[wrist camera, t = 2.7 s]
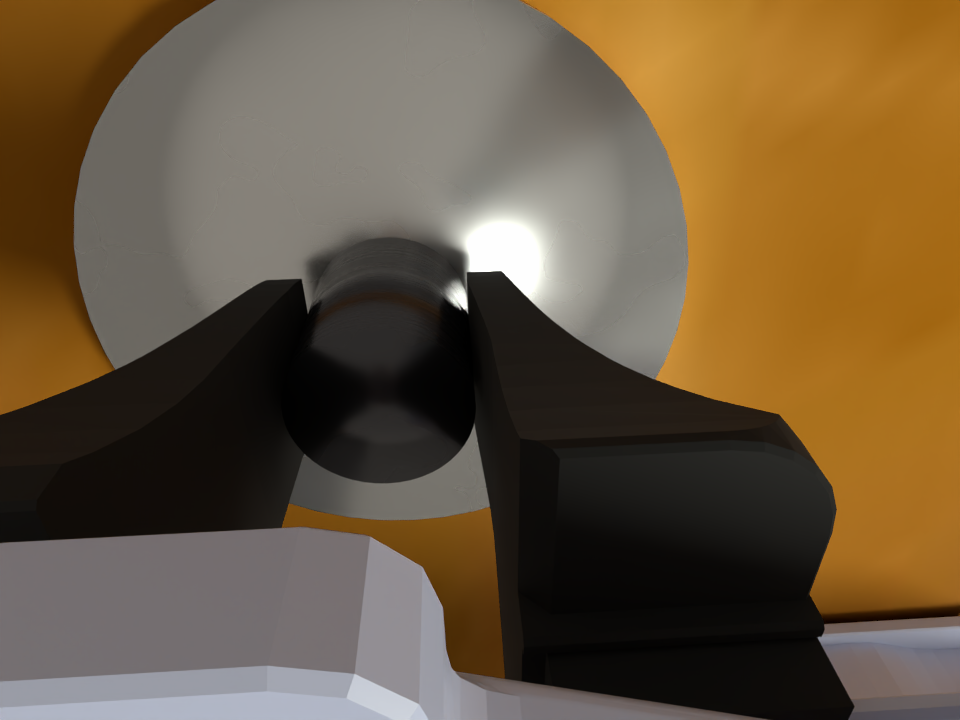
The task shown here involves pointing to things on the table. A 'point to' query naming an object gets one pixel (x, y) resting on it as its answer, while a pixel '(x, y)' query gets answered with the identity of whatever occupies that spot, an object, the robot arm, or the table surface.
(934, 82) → the table surface
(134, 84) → the lid
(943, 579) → the table surface
